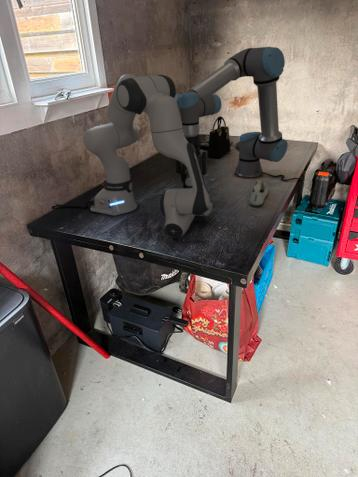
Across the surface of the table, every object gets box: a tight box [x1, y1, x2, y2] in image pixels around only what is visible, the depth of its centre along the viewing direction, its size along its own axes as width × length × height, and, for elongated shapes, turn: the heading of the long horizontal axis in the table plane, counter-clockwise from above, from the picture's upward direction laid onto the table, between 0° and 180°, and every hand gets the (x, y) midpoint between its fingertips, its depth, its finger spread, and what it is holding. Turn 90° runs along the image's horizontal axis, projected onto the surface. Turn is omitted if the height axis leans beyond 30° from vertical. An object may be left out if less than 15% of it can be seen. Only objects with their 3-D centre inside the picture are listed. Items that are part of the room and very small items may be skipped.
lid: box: [185, 177, 192, 186], centre depth 142 cm, size 6×6×2 cm
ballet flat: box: [249, 179, 269, 207], centre depth 158 cm, size 8×24×8 cm, turn 163°
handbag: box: [206, 115, 231, 159], centre depth 220 cm, size 21×9×25 cm, turn 148°
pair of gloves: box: [200, 134, 234, 149], centre depth 250 cm, size 30×26×5 cm
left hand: (192, 199), depth 147 cm, fingers closed on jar, 4 cm apart
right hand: (191, 189), depth 143 cm, fingers closed on lid, 5 cm apart
